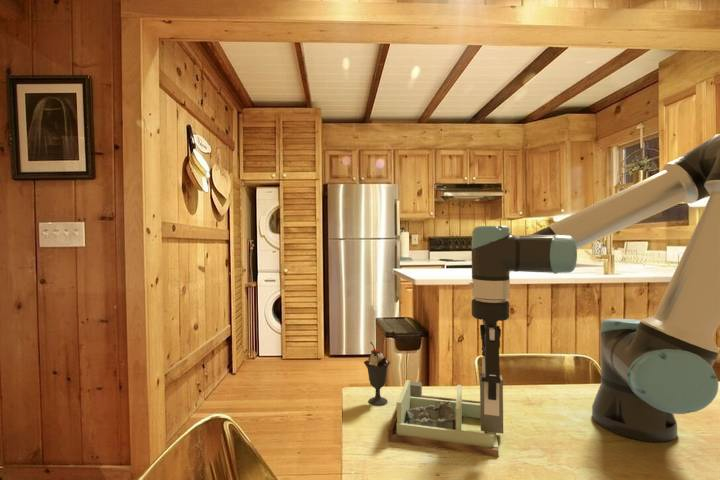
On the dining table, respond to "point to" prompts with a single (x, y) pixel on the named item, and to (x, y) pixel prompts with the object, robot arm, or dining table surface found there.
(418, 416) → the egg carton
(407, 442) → the frame
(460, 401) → the sage green shelf unit
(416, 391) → the broken strip
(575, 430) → the dining table surface
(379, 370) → the sundae
